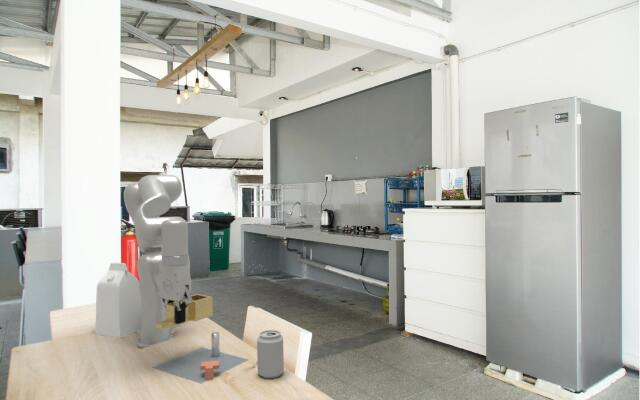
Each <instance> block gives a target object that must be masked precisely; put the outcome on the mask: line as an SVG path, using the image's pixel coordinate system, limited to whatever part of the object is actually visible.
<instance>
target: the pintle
mask: <svg viewBox="0 0 640 400" xmlns="http://www.w3.org/2000/svg"><path fill="white" fill-rule="evenodd" d="M210 338H211V350H212V357H219V356H220V352H221V351H220V350H221V349H220V348H221V347H220V332H218V331H214V332H212V333H211V337H210Z"/></svg>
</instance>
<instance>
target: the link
mask: <svg viewBox="0 0 640 400" xmlns="http://www.w3.org/2000/svg"><path fill="white" fill-rule="evenodd" d="M191 297H192V300H193V302H192V303H190V304H189V305H188V306H187V309H186V321H185V322H183V323H185V324H187V323H186V322H188V323H189V322H191V321H192V322H198V321H201V320H204V319H206V318H209V317H213V315H214V314H213V312H214V311H213V310H214V309H213V296H211V295H206V294H200V293H194V294H191ZM180 303H181V304H182V301H181V302H180ZM176 311H177V304H176V301H175V302H173V303H169V304H166V320H164V321H161V322H158V323H155V327H156V328H160V329H164V328H167V327H170V326H177V325H180V324H182V325H184V324H183V323H180V324H176ZM180 326H181V325H180ZM177 327H178V326H177Z"/></svg>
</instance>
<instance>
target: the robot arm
mask: <svg viewBox="0 0 640 400" xmlns="http://www.w3.org/2000/svg"><path fill="white" fill-rule="evenodd" d="M182 187H183V186H182V182H181V180H180V178H179V177H178V176H176V175H173V174H149V175H144V176H143V177H141V178H140V179H139V180H138V182H133V183H130V184H127V186H125V188H124V190H123V201H124V202H123V203H124V205H125V208H126V211H127V213H128V215H129V217H130V218H131V220H132V222H133V225H134V231H135V236H136V242H137V247H138V250H139V251H140V252H141V253H143V254H141V256H140V257H139V258H137V262H136V267H137V273H138V280H139V283H140V294H141V329H140V330H138V331H136V333H137V334H139V335H140V338H139V339H138V340H137V341H136V345H137V347H139V348H141V349H145V348H147V347H150V346H154V345H155V344H156V345H157V344H159V343H162V342H166V341H168V340H170V339H172V338H175V337H176V336H175V335H174V334H172V332H171V331H172V329H171V326H170V327H167V328H164V329H160V328H156V327H155V323H158V322H161V321H164V320H166V304H169V303H173V302H176V304H177V311H176V324H180V323H183V322H185V321H186V309H187V306H188V305H189V304H190V303H192V302H193V300H192V297H191V295H192V278H191V260H190V255H189V229H188V227H189V226H188V221H187V220H185V219H184V218H183V217H181V216H163V215H164V214H166V213H167V212H168V211H169V210H170V209H171V206H172V204H173V203H174V202H176V201H177V200H178V199H179V198H180V197H181V194H182V191H183V188H182ZM181 301H182V304H181V303H180V302H181Z"/></svg>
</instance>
